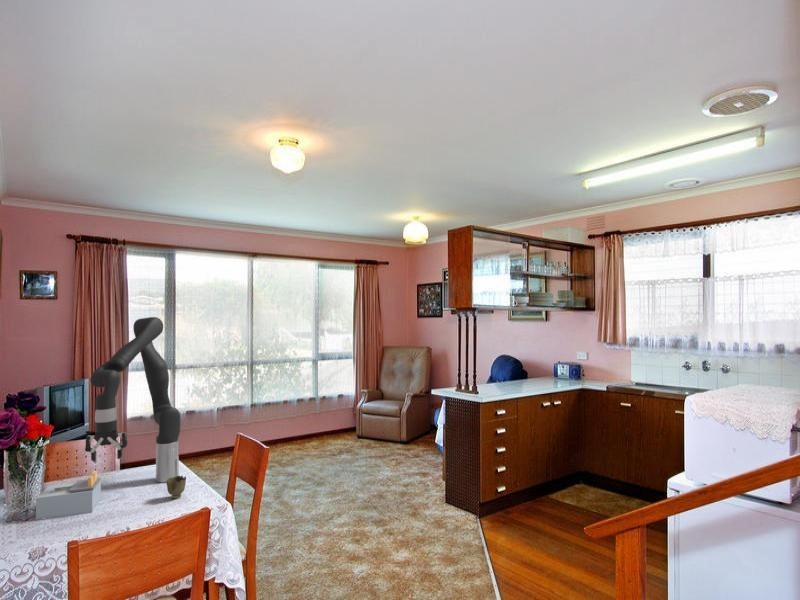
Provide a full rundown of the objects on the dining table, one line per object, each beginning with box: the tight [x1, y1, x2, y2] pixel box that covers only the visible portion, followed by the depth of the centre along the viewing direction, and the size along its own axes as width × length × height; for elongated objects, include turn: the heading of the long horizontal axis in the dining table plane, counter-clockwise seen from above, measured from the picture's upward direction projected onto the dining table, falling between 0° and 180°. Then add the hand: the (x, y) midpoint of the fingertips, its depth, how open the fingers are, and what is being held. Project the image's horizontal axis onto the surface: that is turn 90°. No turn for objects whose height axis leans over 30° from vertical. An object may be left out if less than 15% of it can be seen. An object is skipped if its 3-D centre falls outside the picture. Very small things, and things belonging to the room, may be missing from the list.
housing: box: [35, 479, 102, 521], centre depth 188 cm, size 18×14×8 cm
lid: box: [69, 470, 101, 492], centre depth 190 cm, size 8×12×4 cm, turn 20°
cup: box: [165, 475, 187, 500], centre depth 198 cm, size 8×7×8 cm
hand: (106, 459), depth 193 cm, fingers open, 8 cm apart
